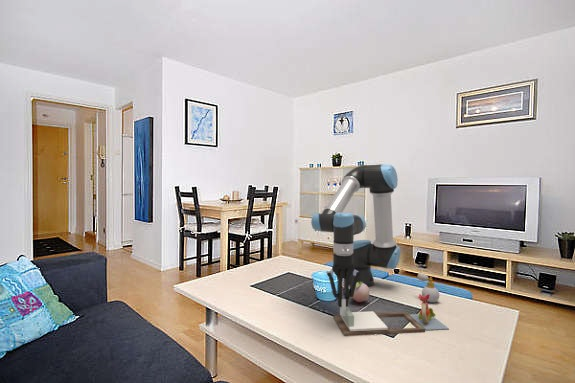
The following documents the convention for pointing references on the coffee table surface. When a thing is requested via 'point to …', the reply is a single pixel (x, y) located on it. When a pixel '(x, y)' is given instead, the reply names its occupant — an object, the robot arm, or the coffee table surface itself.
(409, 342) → the coffee table surface
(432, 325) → the slate mat
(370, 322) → the sliding cover
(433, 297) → the perfume bottle
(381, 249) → the robot arm
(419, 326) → the puzzle board
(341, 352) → the coffee table surface
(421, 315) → the bird rattle
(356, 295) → the decorative fruit
